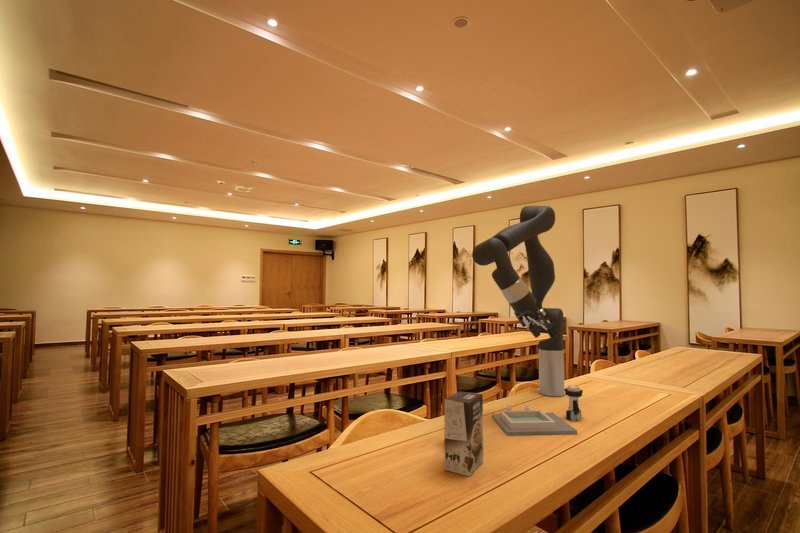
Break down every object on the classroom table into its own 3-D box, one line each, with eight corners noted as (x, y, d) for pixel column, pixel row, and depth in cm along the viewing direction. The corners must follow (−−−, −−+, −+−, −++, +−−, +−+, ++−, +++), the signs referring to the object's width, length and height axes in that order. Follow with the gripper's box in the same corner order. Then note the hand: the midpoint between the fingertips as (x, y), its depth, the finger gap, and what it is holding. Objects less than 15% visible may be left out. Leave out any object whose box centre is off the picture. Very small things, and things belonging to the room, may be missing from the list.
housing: (491, 416, 127) (491, 404, 127) (552, 415, 128) (552, 403, 128) (507, 435, 111) (507, 421, 111) (577, 434, 112) (576, 419, 112)
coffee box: (470, 477, 87) (469, 402, 88) (443, 470, 90) (443, 398, 91) (484, 461, 95) (483, 393, 96) (459, 455, 98) (459, 389, 99)
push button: (574, 414, 129) (573, 383, 130) (589, 419, 125) (588, 387, 125) (561, 418, 126) (560, 386, 126) (576, 423, 121) (575, 389, 122)
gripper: (540, 286, 118) (569, 330, 119) (513, 289, 131) (540, 328, 133) (522, 301, 116) (553, 346, 117) (497, 302, 129) (525, 342, 130)
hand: (546, 336), depth 125 cm, fingers open, 8 cm apart
